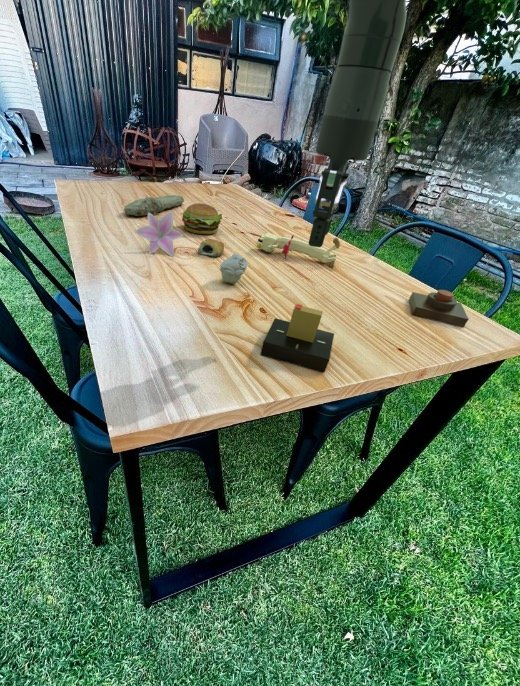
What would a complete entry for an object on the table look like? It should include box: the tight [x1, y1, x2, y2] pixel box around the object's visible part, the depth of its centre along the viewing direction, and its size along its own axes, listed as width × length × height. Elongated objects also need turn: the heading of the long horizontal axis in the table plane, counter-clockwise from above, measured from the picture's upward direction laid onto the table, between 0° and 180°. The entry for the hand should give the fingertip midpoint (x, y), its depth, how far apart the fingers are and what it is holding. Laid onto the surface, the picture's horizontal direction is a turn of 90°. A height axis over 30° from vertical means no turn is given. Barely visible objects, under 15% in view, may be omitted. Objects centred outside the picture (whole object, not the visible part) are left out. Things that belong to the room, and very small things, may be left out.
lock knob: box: [287, 303, 324, 343], centre depth 63 cm, size 5×2×6 cm, turn 71°
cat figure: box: [255, 232, 341, 268], centre depth 106 cm, size 10×9×25 cm
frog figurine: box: [219, 253, 248, 285], centre depth 86 cm, size 6×7×7 cm
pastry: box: [197, 238, 225, 258], centre depth 103 cm, size 9×7×4 cm
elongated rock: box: [123, 194, 185, 217], centre depth 133 cm, size 35×5×10 cm
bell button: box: [435, 289, 455, 302], centre depth 85 cm, size 4×4×2 cm
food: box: [180, 202, 223, 235], centre depth 117 cm, size 14×14×8 cm
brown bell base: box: [408, 291, 470, 328], centre depth 86 cm, size 12×10×4 cm
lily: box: [134, 210, 184, 257], centre depth 98 cm, size 12×12×10 cm
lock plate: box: [260, 317, 335, 373], centre depth 66 cm, size 12×10×3 cm
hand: (318, 239), depth 58 cm, fingers open, 8 cm apart
